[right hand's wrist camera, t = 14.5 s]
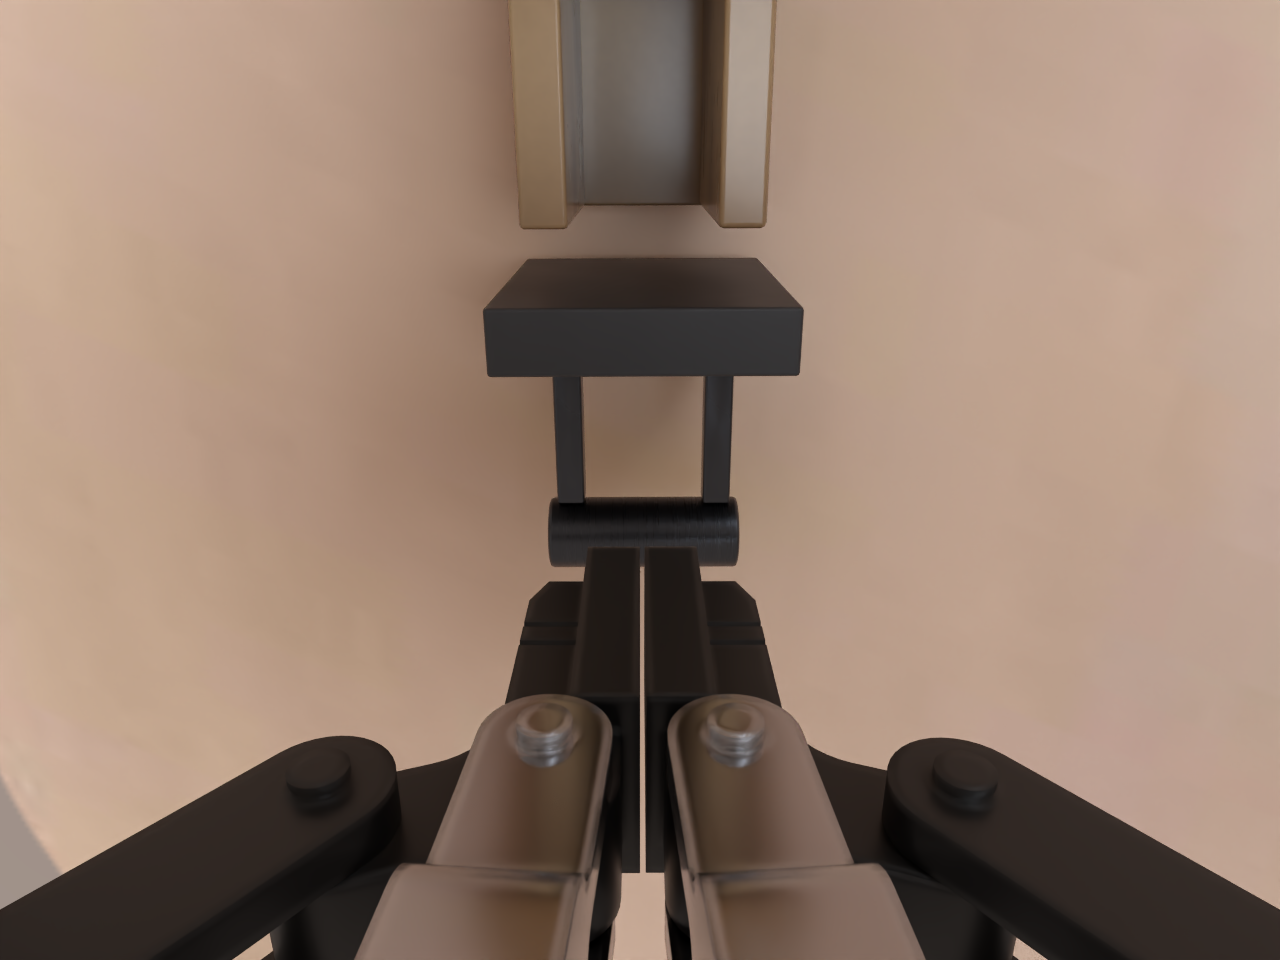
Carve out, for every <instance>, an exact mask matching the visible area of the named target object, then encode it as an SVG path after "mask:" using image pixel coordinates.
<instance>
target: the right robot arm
mask: <svg viewBox="0 0 1280 960" xmlns="http://www.w3.org/2000/svg"><path fill="white" fill-rule="evenodd" d="M644 703H645V828H646V873H664V878H665V945H666V953H667V960H1018V959H1017V958H1016V957H1014V956H1013V951H1014V946H1015V941H1016V937H1017V938H1018V939H1020V940H1021V941H1023V942H1024V943H1025V944H1027V945H1028V946H1029V947H1031V948H1032V949H1034V950H1035V951H1036V952H1038V953H1039V954H1041V955H1042V956H1043V957H1045V958H1046V959H1048V960H1280V910H1279V909H1278V908H1276V907H1274V906H1272V905H1271V904H1269V903H1267V902H1265V901H1263V900H1262V899H1260V898H1258V897H1256V896H1255V895H1253V894H1251V893H1249V892H1247V891H1246V890H1244V889H1242V888H1240V887H1238V886H1237V885H1235V884H1233V883H1231V882H1230V881H1228V880H1226V879H1224V878H1222V877H1221V876H1219V875H1217V874H1215V873H1214V872H1212V871H1210V870H1208V869H1206V868H1205V867H1203V866H1201V865H1199V864H1198V863H1196V862H1194V861H1192V860H1190V859H1189V858H1187V857H1185V856H1183V855H1181V854H1180V853H1178V852H1176V851H1174V850H1173V849H1171V848H1169V847H1167V846H1165V845H1164V844H1162V843H1160V842H1158V841H1157V840H1155V839H1153V838H1151V837H1149V836H1148V835H1146V834H1144V833H1142V832H1140V831H1139V830H1137V829H1135V828H1133V827H1132V826H1130V825H1128V824H1126V823H1124V822H1123V821H1121V820H1119V819H1117V818H1116V817H1114V816H1112V815H1110V814H1108V813H1107V812H1105V811H1103V810H1101V809H1100V808H1098V807H1096V806H1094V805H1092V804H1091V803H1089V802H1087V801H1085V800H1083V799H1082V798H1080V797H1078V796H1076V795H1075V794H1073V793H1071V792H1069V791H1067V790H1066V789H1064V788H1062V787H1060V786H1059V785H1057V784H1055V783H1053V782H1051V781H1050V780H1048V779H1046V778H1044V777H1042V776H1041V775H1039V774H1037V773H1035V772H1034V771H1032V770H1030V769H1028V768H1026V767H1025V766H1023V765H1021V764H1019V763H1018V762H1016V761H1014V760H1012V759H1010V758H1009V757H1007V756H1005V755H1003V754H1001V753H999V752H997V751H995V750H993V749H991V748H988V747H986V746H983V745H980V744H977V743H973V742H970V741H965V740H960V739H953V738H928V739H922V740H918V741H914V742H911V743H909V744H907V745H905V746H903V747H901V748H900V749H899V750H898V751H896V752H895V753H894V755H893V756H892V757H891V759H890V761H889V764H888V768H887V771H886V770H882V769H877V768H873V767H868V766H864V765H859V764H855V763H851V762H847V761H843V760H840V759H837V758H834V757H832V756H829V755H826V754H824V753H822V752H820V751H818V750H816V749H815V748H813V747H811V746H810V745H808V744H807V742H806V739H805V736H804V734H803V731H802V729H801V727H800V726H799V724H798V722H797V721H796V720H795V719H794V718H793V717H792V716H791V715H790V714H789V713H788V712H787V711H785V710H784V709H782V707H781V703H780V698H779V694H778V690H777V686H776V682H775V678H774V674H773V670H772V666H771V662H770V658H769V654H768V650H767V646H766V645H765V638H764V634H763V630H762V626H761V622H760V618H759V614H758V609H757V605H756V601H755V600H754V599H753V598H752V597H751V596H750V595H749V594H748V593H747V592H746V591H745V590H744V589H743V588H742V587H741V586H740V585H739V584H737V583H736V582H735V581H701V575H700V568H699V560H698V553H697V547H645V560H644ZM622 873H640V547H588V550H587V558H586V566H585V574H584V582H548V583H547V584H546V585H545V586H544V587H543V588H542V589H541V590H540V591H539V592H538V593H537V594H536V595H535V596H534V597H533V598H531V599H530V601H529V605H528V609H527V613H526V617H525V622H524V627H523V630H522V634H521V638H520V645H519V647H518V651H517V655H516V660H515V664H514V668H513V672H512V676H511V681H510V685H509V689H508V693H507V698H506V702H505V705H503V706H501V707H499V708H498V709H496V710H495V711H493V712H492V713H491V714H490V715H489V716H488V717H487V718H486V719H485V720H484V721H483V722H482V724H481V726H480V727H479V729H478V731H477V734H476V736H475V739H474V742H473V744H472V747H471V749H470V750H469V751H467V752H465V753H463V754H461V755H458V756H456V757H453V758H450V759H448V760H444V761H441V762H437V763H433V764H429V765H424V766H420V767H415V768H411V769H406V770H402V771H397V772H396V764H395V761H394V759H393V756H392V755H391V754H390V752H389V751H388V750H387V749H386V748H384V747H383V746H382V745H380V744H378V743H376V742H374V741H372V740H369V739H365V738H361V737H354V736H332V737H324V738H319V739H314V740H310V741H307V742H303V743H301V744H298V745H295V746H293V747H290V748H288V749H286V750H284V751H282V752H280V753H279V754H277V755H275V756H273V757H271V758H270V759H268V760H266V761H264V762H262V763H261V764H259V765H257V766H255V767H254V768H252V769H250V770H248V771H246V772H245V773H243V774H241V775H239V776H238V777H236V778H234V779H232V780H230V781H229V782H227V783H225V784H223V785H222V786H220V787H218V788H216V789H214V790H213V791H211V792H209V793H207V794H205V795H204V796H202V797H200V798H198V799H197V800H195V801H193V802H191V803H189V804H188V805H186V806H184V807H182V808H181V809H179V810H177V811H175V812H173V813H172V814H170V815H168V816H166V817H164V818H163V819H161V820H159V821H157V822H156V823H154V824H152V825H150V826H148V827H147V828H145V829H143V830H141V831H140V832H138V833H136V834H134V835H132V836H131V837H129V838H127V839H125V840H124V841H122V842H120V843H118V844H116V845H115V846H113V847H111V848H109V849H107V850H106V851H104V852H102V853H100V854H99V855H97V856H95V857H93V858H91V859H90V860H88V861H86V862H84V863H83V864H81V865H79V866H77V867H75V868H74V869H72V870H70V871H68V872H66V873H65V874H63V875H61V876H59V877H58V878H56V879H54V880H52V881H50V882H49V883H47V884H45V885H43V886H42V887H40V888H38V889H36V890H34V891H33V892H31V893H29V894H27V895H25V896H24V897H22V898H20V899H18V900H17V901H15V902H13V903H11V904H9V905H8V906H6V907H4V908H2V909H1V910H0V960H232V959H234V958H235V957H237V956H238V955H239V954H241V953H242V952H244V951H245V950H246V949H248V948H249V947H251V946H252V945H253V944H255V943H256V942H258V941H259V940H260V939H262V938H263V937H264V936H266V935H267V934H269V933H270V937H271V942H272V947H273V951H272V952H271V953H270V954H268V955H267V956H266V957H264V958H263V959H262V960H613V953H614V945H615V917H616V916H617V913H618V910H619V908H620V902H621V880H622Z"/></svg>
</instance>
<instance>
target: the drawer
mask: <svg viewBox="0 0 1280 960" xmlns="http://www.w3.org/2000/svg"><path fill="white" fill-rule="evenodd" d="M776 7H777V0H508V16H509V35H510V54H511V73H512V92H513V111H514V130H515V149H516V168H517V187H518V206H519V225H520V227H521V228H522V229H565V228H567V226H568V225H569V224H570V223H571V221H572V220H573V219H574V217H575V216H576V215H577V214H578V212H579V211H580V210H581V208H582V207H583V206H590V205H702V206H703V207H704V208H705V210H706V211H707V212H708V213H709V214H710V215H711V217H712V218H713V219H714V220H715V221H716V223H717V224H718V225H719V226H720V227H722V228H762V227H764V226H765V224H766V222H767V201H768V180H769V158H770V136H771V115H772V93H773V72H774V50H775V28H776ZM803 314H804V310H803V307H802V306H801V305H800V304H799V303H798V302H797V301H796V300H795V299H794V298H793V297H792V296H791V294H790V293H789V292H788V291H787V290H786V289H785V288H784V287H783V286H782V285H781V284H780V283H779V282H778V281H777V279H776V278H775V277H774V276H773V275H772V274H771V273H770V272H769V271H768V270H767V269H766V268H765V267H764V265H763V264H762V263H761V262H760V261H759V260H758V259H757V258H647V259H528V260H527V261H526V262H525V263H524V264H523V266H522V267H521V268H520V269H519V270H518V271H517V272H516V273H515V275H514V276H513V277H512V278H511V279H510V280H509V281H508V282H507V284H506V285H505V286H504V287H503V288H502V289H501V290H500V292H499V293H498V294H497V295H496V296H495V297H494V298H493V299H492V301H491V302H490V303H489V304H488V305H487V306H486V307H485V308H484V310H483V319H484V333H485V348H486V362H487V374H488V376H489V377H553V398H554V422H555V446H556V470H557V494H558V497H555V498H552V500H551V502H550V507H549V517H548V549H549V559H550V563H551V565H552V566H554V567H585V566H586V558H587V550H588V547H640V567H644V560H645V547H697V553H698V560H699V566H735V565H736V563H737V560H738V554H739V514H738V505H737V501H736V499H735V498H734V497H729V494H730V465H731V437H732V409H733V380H734V376H797V375H799V373H800V361H801V346H802V330H803ZM626 376H703V418H702V462H701V497H586V475H585V441H584V406H583V377H626Z"/></svg>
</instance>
